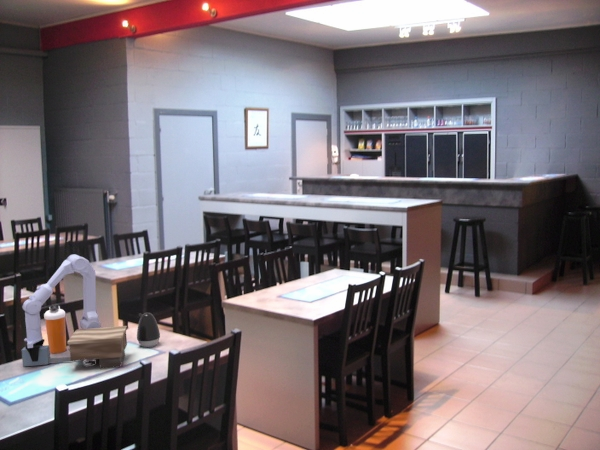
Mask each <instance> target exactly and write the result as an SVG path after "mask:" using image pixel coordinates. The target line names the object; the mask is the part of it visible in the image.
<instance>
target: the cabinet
mask: <svg viewBox="0 0 600 450" xmlns="http://www.w3.org/2000/svg"><path fill="white" fill-rule="evenodd" d="M127 330H128V325H122V326H109V327H106V326H105V327H101V328H91V329H82V328H80V329H78V328H77V329H76V330H75V331H74V332H73V334H72V335H71V336H70V338H69V339H68V340H67V341H66V344H67V346H68V345H69V356H70V359H71V361H70V362H76V361H84V360H89V359H95V360H99V361H98V362H99V369H112V368H120V367H122V364H123V361H124V359H125V356H126V355H125V354H126V352H125V351H126V348H127V346H128V342H127V340H128V339H127Z"/></svg>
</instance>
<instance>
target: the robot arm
mask: <svg viewBox="0 0 600 450" xmlns="http://www.w3.org/2000/svg"><path fill="white" fill-rule="evenodd" d="M75 271H76V272H78V273H79V274H80V275H81V276H82V287H83V290H82V291H83V293H82V294H83V295H82V297H83V311H82V312H81V313H82V314H81V319H80V321H79V325H80V329H91V328H102V327H101V323H100V321H99V316H98V313H97V289H96V287H97V286H96V285H97V284H96V279H97V278H96V270H95V269H94V267H93V266H92V265H91V263H90V260H88V259H87V258H85V257H83V256H80V255H78V254H76V253H75V254H70V255H69V256H68V257H67V258H66V259H64V260H63V262H62V263H61V265H60V266H59V267H58V269H57V270H56V271H55V272H54V273H53V275H52V276H51V277H50V279H49V280H48V281H47V283H43V284H41V285H38V286H37V287H36V289H35V291H34V293H33V294H32V295H29V297H28V299H26V300H25V301H24V302H23V304H22V306H21V307H22V308H21V309H22V310H23V311H24V315H25V317H24V320H25V327H26V328H25V329H26V337H25V338H24V339H23V341H24V342H27V344H26V345H25V346H24V347H26V349H27V351H28V352H29V354H30V357H31V360H32V362H35V361H38V354H39V348H40V346H44V343H45V339H43V333H42V325H41V324H42V323H41V316H40V315H41V314H40V312H41V310H42V306H44V304H45V302H46V301H47V300H49V298H50V297H51V296H52V295H53V292H54V288H55V287H56V286H57V285H58V284H59V283H60V281H62V280H63V278H65V277H66V276H67V275H70V274H74V273H75Z"/></svg>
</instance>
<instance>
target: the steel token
mask: <svg viewBox="0 0 600 450" xmlns="http://www.w3.org/2000/svg"><path fill="white" fill-rule="evenodd" d="M96 360H97V359H89V360H82V366H85V367H89V366H91V367H92V366H94V365H96Z"/></svg>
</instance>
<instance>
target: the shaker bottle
mask: <svg viewBox="0 0 600 450" xmlns="http://www.w3.org/2000/svg"><path fill="white" fill-rule="evenodd" d="M48 308H49V310H46V311H45V313H43V317H44V318H43V319H44V321H45V328H46V329H45V330H46V335H47V336H46V337H47V343H48V345H49V349H50V354H60V353H64V352H66V351H67V332H66V311H65V310H64V309H63V308H61V306H60V305H52V306H51V305H50V306H49V307H48Z"/></svg>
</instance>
